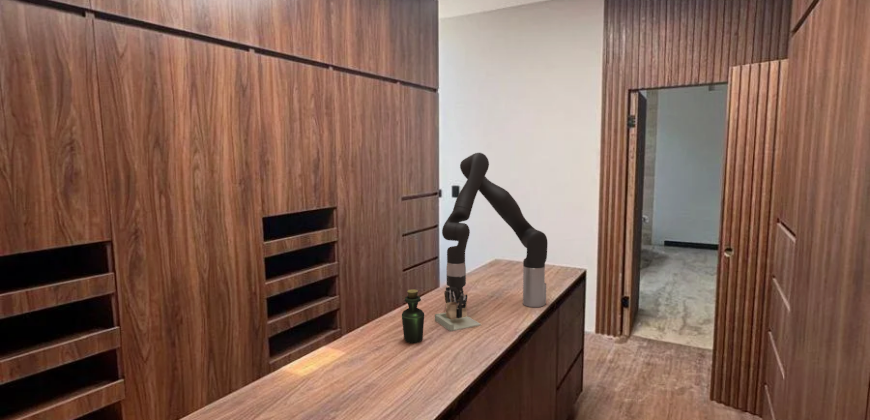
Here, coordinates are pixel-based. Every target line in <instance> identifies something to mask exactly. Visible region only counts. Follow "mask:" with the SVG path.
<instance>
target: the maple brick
mask: <svg viewBox="0 0 870 420" xmlns="http://www.w3.org/2000/svg"><path fill="white" fill-rule="evenodd" d="M458 305H459V303H458ZM467 307H468V306H467V302H466V307H465V308H462V318H463V317H467V316H468V315H467V314H468V313H467ZM456 309H457V308H456V303H455V302H449V303H446V302H445V312H446V317H448V318H449V319H451V320H452V319H457V317H456Z"/></svg>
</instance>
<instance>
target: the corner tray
mask: <svg viewBox="0 0 870 420" xmlns="http://www.w3.org/2000/svg"><path fill="white" fill-rule="evenodd" d="M434 321H435V322H437V323H438V324H439V325H441V326H442V327H444V328H445V329H446V330H448V331H449V332H454V331H459V330H463V329H470V328H475V327H479V326H482V323H481V322H478V321H477V320H475V319H473V318H471V317H470V316H468V315H467V317H463V318H457V319H452V320H451V319H449V318H448V317H446V311H445V312H441V313H434Z"/></svg>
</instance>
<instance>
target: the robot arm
mask: <svg viewBox="0 0 870 420" xmlns="http://www.w3.org/2000/svg"><path fill="white" fill-rule="evenodd" d="M459 166H460V167H459V168H460V171H461V174H463V177H464V178H465V179H467V180H466V181H465V183H464V185H463V187H462V188H461V190H460V191H459V193H458V194H457V197H456V200H455V202H454V205H453V208H452V209H453V210H452V211H451V213H450V214H449V216H448V217H447V219H446V221H445V222H444V224H443V226H442V230H441V234H442V237H443V238H444V239H445V241H454V242H456V241H457V245H454V246H453V245H452V246H450V247H447V251H446V285H447V286H446V287H445V291H446V294H447V300H448V302H455V303H456V308H457V309H456V317H457V318H462V308H465V307H466V303H467V300H468V295H467V294H465V293H464V287H465V286H466V284H467V280H466V279H467V269H466V249H467V246H468V245H467V244H468V242H469V238H470V234H471V231H470V227H469V225H468V224H467V223H465V222H466V221H468V220H469V219H470V217H471V216H470V215H471V214H472V213H471V212H472V210H473V207H474V203H475V199H476V197H477V194H478V192H479V193H480V194H481V195H482V196H483V197H484V198H485V200H486V201H487V202H488V203H489V204H490V205H491V207H492V209H493V210H495V212H496V213H497V215H499V216H500V218H501V219H503V221H504V222H505V223H506V224H507V226H509V227H510V228H511V229H512V231H513V233H514V234H515V235H516V237H517V238H518V239H519V241H520V242H521V244H522V246H524V247H523V248H526V256H525V258H524V259H523V260H522V261H523V263H522V264H523V265H522V266H523V267H522V268H523V269H522V272H523V274H522V275H523V276H522V283H523V284H522V304H523V306H525V307H528V308H541V307H543V306H545V305H547V283H546V282H545V281H546V279H545V278H546V276H545V275H546V273H545V271H546V270H545V269H546V262H547V259H548V238H547V235H546V233H544V232H543V231H540V230H538V229H536V228H534V226H532V225H531V224H530V222H529V221H528V220H527V219H526V218H525V216H524V214H523V213H522V210H521V208H520V206H519V204H518V202H517V201H516V199H515V198H514V197H513V196H512V195H511V194H510V192H509V191H508V190H506V189H505V188H503V187H501V186H499V185H497V184H496V183H494V182H492V181H491V180H490V179H488V178H487V177H486V174H487V172H488V170H489V166H490V162H489V158H488V157H487V156H486V154H484V153H482V152H475V153H473V154H471V155H469V156H467V157H465V158H463V159H462V160H461V162H460V165H459ZM459 299H460V300H459ZM457 300H459V301H457ZM458 303H459V305H458Z"/></svg>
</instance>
